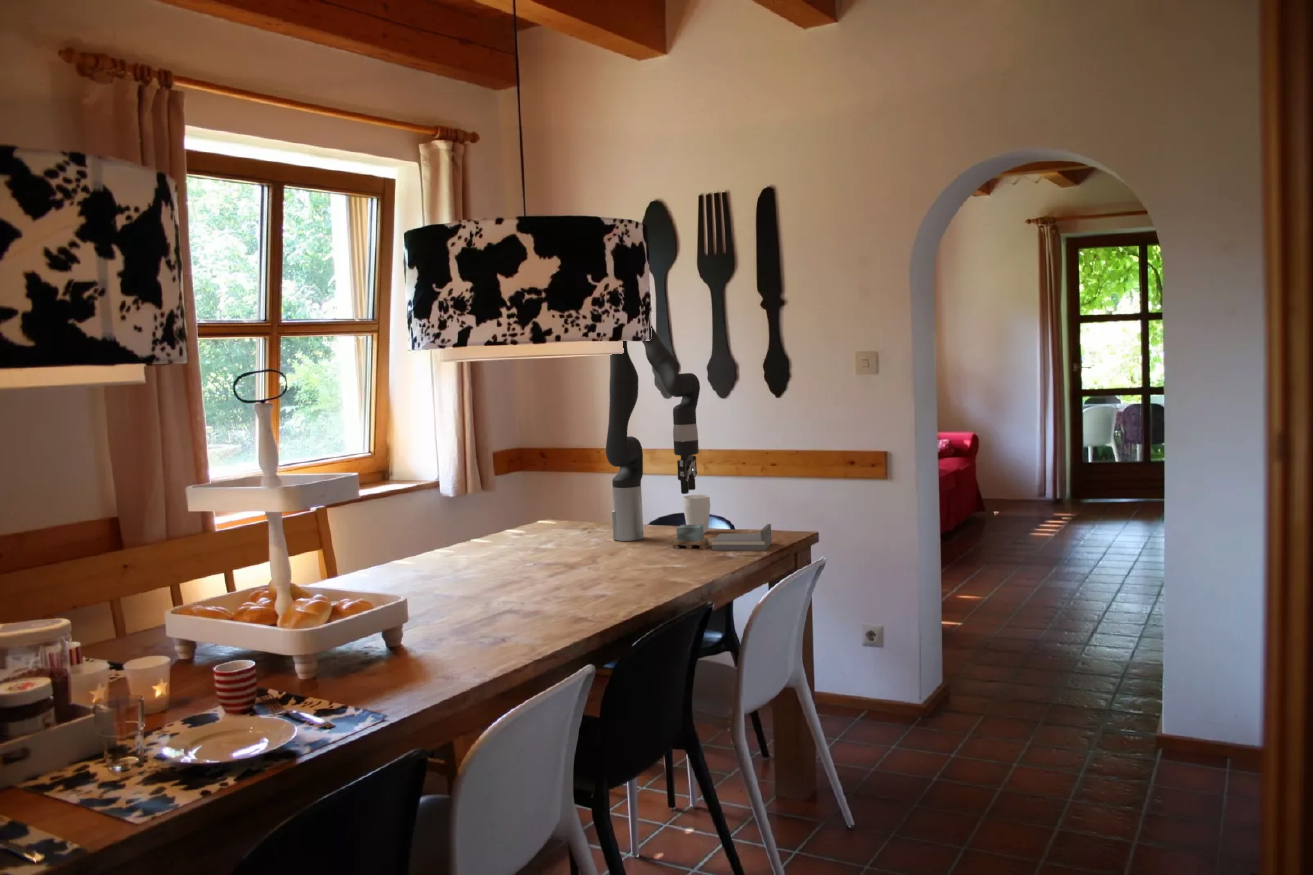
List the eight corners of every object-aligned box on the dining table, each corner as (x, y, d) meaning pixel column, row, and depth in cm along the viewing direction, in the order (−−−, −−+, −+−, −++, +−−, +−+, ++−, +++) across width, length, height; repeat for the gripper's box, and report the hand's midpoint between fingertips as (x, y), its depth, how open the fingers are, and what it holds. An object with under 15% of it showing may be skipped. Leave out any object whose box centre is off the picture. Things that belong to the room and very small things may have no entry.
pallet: (672, 548, 323) (671, 527, 323) (677, 545, 329) (676, 524, 328) (704, 548, 320) (703, 527, 320) (708, 545, 326) (707, 524, 325)
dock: (711, 550, 316) (711, 530, 316) (720, 543, 328) (719, 524, 328) (764, 550, 312) (763, 530, 312) (771, 543, 324) (770, 523, 323)
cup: (679, 532, 352) (677, 496, 351) (703, 529, 356) (702, 493, 355) (691, 535, 344) (690, 499, 343) (716, 532, 348) (714, 496, 347)
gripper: (679, 437, 330) (682, 488, 331) (667, 441, 316) (670, 495, 317) (703, 436, 328) (705, 488, 329) (692, 440, 314) (694, 494, 315)
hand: (688, 491), depth 323 cm, fingers open, 8 cm apart
